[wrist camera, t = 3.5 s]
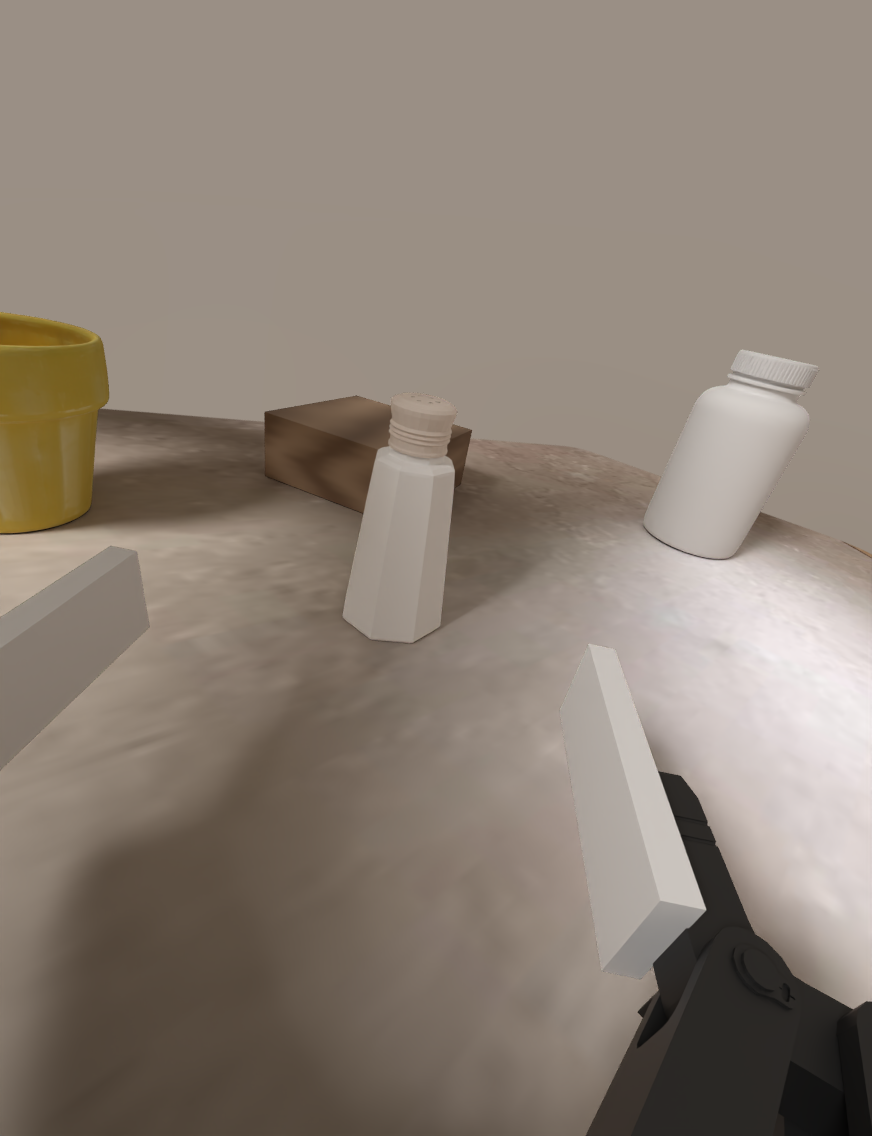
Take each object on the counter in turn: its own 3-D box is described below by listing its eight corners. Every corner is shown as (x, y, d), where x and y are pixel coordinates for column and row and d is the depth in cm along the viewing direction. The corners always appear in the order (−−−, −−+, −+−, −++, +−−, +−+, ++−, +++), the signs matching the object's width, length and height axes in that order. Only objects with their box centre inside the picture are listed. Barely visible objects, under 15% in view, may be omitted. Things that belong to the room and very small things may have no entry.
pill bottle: (726, 572, 37) (841, 369, 29) (628, 531, 41) (708, 342, 33) (742, 545, 43) (843, 370, 35) (655, 511, 47) (729, 346, 39)
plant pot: (120, 470, 34) (94, 318, 29) (139, 537, 27) (110, 353, 22) (-86, 478, 28) (-163, 291, 23) (-128, 566, 21) (-249, 326, 16)
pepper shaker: (327, 589, 26) (342, 378, 20) (416, 579, 28) (451, 388, 23) (359, 654, 22) (388, 414, 16) (460, 635, 24) (514, 422, 19)
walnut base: (265, 475, 37) (264, 411, 35) (352, 447, 47) (356, 395, 45) (395, 525, 34) (405, 458, 31) (460, 483, 44) (472, 430, 41)
